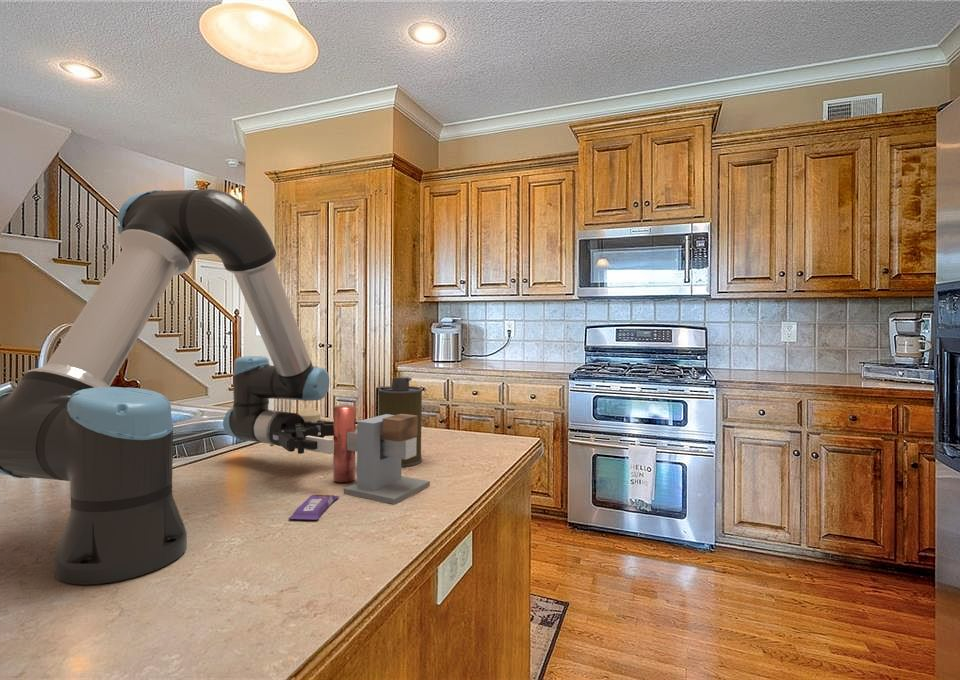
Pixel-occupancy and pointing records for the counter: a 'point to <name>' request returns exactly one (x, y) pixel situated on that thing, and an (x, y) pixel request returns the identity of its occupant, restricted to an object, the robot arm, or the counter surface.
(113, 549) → the robot arm
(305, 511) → the snack package
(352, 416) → the shaft
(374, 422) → the grey holder stand
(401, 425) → the bar
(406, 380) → the canister
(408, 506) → the counter surface
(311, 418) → the candle
